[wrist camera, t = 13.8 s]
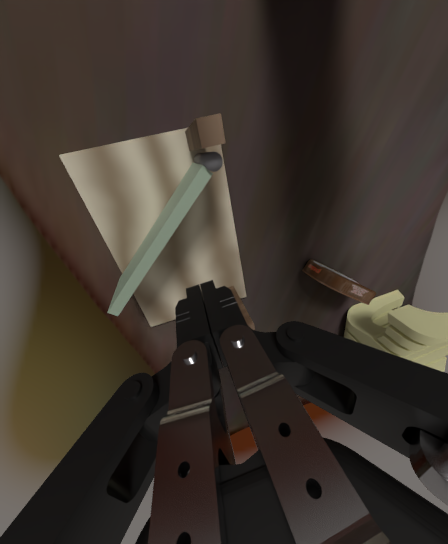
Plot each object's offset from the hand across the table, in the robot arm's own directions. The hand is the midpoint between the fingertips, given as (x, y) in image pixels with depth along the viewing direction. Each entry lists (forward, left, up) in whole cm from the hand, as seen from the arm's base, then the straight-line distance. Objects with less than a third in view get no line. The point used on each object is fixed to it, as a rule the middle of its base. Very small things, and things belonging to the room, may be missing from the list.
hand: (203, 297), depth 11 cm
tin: (-24, +18, -21) cm, 37 cm away
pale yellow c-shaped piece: (-37, +38, -21) cm, 57 cm away
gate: (+3, +1, -20) cm, 20 cm away
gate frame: (+2, +4, -21) cm, 22 cm away
